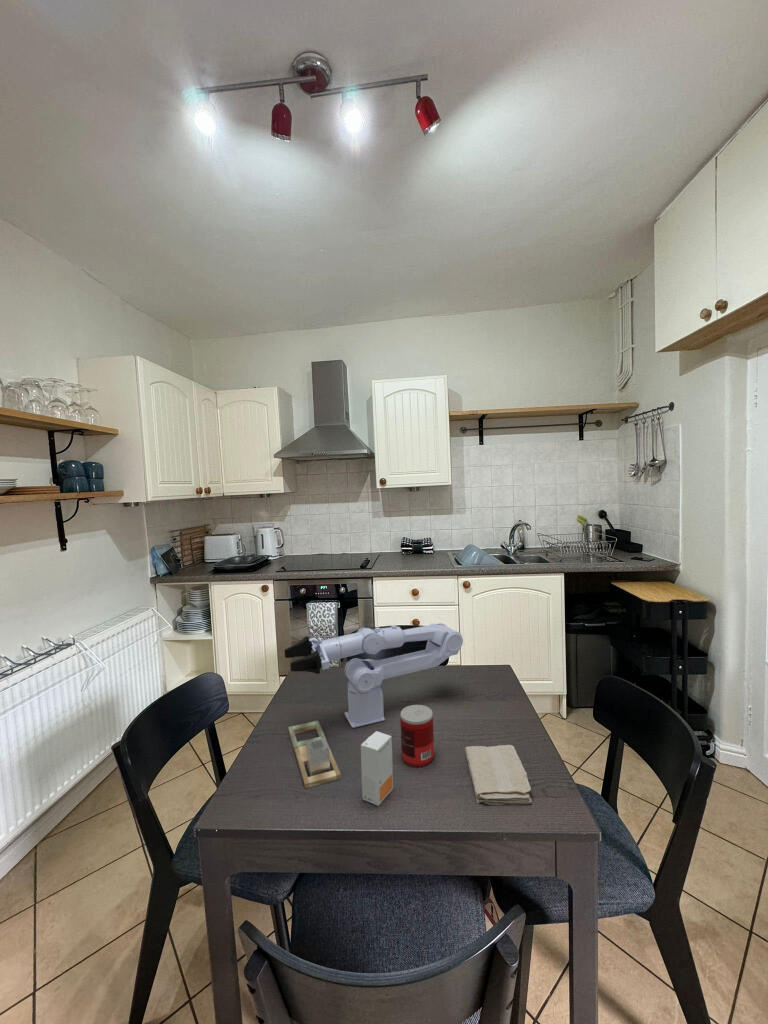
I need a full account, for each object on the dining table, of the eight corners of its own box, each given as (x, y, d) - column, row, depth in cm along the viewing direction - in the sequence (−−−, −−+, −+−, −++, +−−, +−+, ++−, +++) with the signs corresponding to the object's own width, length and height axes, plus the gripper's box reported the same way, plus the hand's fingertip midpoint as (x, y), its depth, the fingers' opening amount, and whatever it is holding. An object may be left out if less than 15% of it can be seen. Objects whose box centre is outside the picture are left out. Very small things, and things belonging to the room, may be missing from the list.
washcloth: (476, 808, 88) (476, 793, 88) (462, 753, 106) (462, 741, 106) (536, 807, 88) (536, 793, 87) (512, 752, 106) (512, 740, 105)
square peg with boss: (325, 762, 104) (324, 736, 103) (330, 773, 100) (329, 747, 99) (307, 766, 102) (305, 741, 102) (310, 778, 98) (309, 751, 98)
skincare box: (379, 807, 89) (376, 750, 88) (361, 800, 91) (359, 744, 90) (394, 789, 94) (392, 735, 93) (377, 782, 96) (375, 730, 95)
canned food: (437, 750, 107) (435, 706, 106) (429, 770, 99) (428, 724, 99) (407, 744, 109) (405, 702, 109) (397, 764, 102) (396, 719, 101)
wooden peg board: (318, 724, 120) (317, 720, 120) (340, 778, 98) (340, 773, 98) (288, 731, 117) (288, 726, 117) (305, 788, 95) (305, 783, 95)
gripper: (329, 624, 124) (281, 634, 119) (345, 645, 111) (292, 658, 106) (330, 647, 126) (283, 658, 121) (346, 671, 113) (294, 685, 107)
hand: (287, 660), depth 113 cm, fingers open, 7 cm apart
